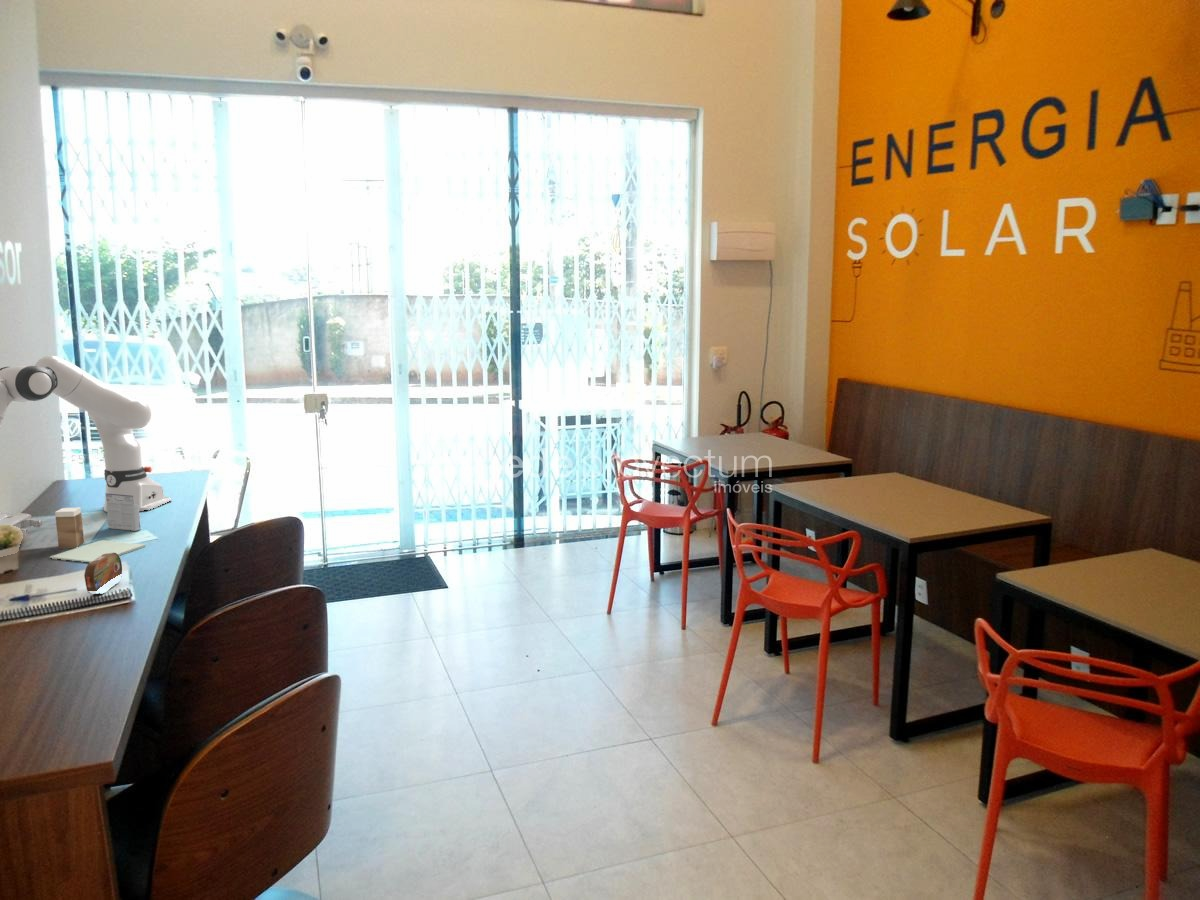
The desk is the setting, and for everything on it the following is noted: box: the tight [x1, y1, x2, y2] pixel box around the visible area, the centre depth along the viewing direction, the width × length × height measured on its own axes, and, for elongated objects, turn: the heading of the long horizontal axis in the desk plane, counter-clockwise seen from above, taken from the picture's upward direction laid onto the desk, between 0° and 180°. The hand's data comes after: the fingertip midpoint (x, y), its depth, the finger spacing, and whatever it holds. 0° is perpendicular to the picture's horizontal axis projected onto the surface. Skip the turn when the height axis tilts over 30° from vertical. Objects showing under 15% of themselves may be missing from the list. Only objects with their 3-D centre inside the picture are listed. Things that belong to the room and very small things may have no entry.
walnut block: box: [54, 507, 85, 549], centre depth 263 cm, size 5×5×11 cm
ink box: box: [104, 492, 141, 532], centre depth 281 cm, size 12×2×12 cm, turn 71°
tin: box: [83, 553, 123, 592], centre depth 225 cm, size 15×3×8 cm, turn 5°
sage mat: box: [49, 539, 146, 563], centre depth 257 cm, size 18×16×1 cm
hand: (34, 527), depth 261 cm, fingers open, 8 cm apart
